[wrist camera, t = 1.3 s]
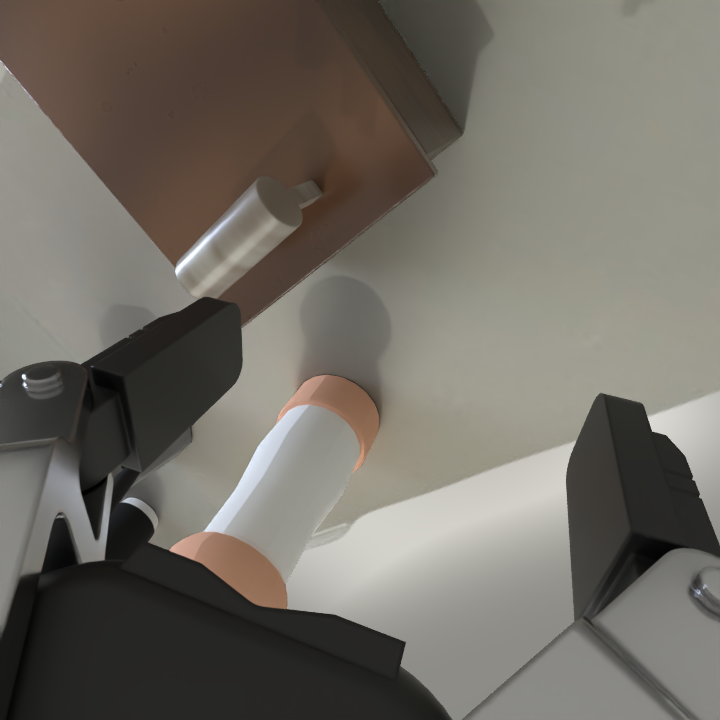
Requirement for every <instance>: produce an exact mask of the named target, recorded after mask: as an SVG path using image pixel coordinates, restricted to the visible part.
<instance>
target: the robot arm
mask: <svg viewBox="0 0 720 720" xmlns="http://www.w3.org/2000/svg"><path fill="white" fill-rule="evenodd" d="M242 362H243V358H242V331H241V312H240V308H239V306H238V305H237V304H236V303H232V302H228V301H224V300H220V299H216V298H212V297H207V296H206V297H202V298H201V299H199V300H197V301H196V302H194V303H192V304H191V305H189V306H188V307H186V308H184V309H183V310H181V311H179V312H176V313H173V314H169V315H166V316H163V317H160V318H158V319H156V320H155V321H153V322H151V323H149V324H148V325H146V326H144V327H143V330H140V329H139V330H138V331H136V332H134V333H133V334H131V335H129V338H124V339H123V340H121V341H119V342H118V343H116V344H114V345H113V346H111V347H109V348H108V349H106V350H104V351H103V352H101V353H99V354H98V355H96V356H94V357H93V358H91V359H89V360H87V361H86V362H84V363H82V364H81V365H79V364H77V363H74V362H69V361H48V362H41V363H36V364H32V365H29V366H26V367H23V368H21V369H18V370H16V371H14V372H13V373H11V374H9V375H8V376H6V377H5V378H4V379H3V380H2V381H0V720H452V718H451V717H450V716H449V714H448V713H447V712H446V710H445V708H444V707H443V706H442V705H441V704H440V702H439V701H438V700H437V699H436V698H435V697H434V695H433V694H432V693H431V692H430V691H429V690H428V689H427V688H426V687H425V686H424V685H423V684H422V683H421V682H420V681H419V680H417V679H416V678H415V677H414V676H413V675H412V674H410V673H409V672H408V671H406V670H405V669H404V668H402V667H401V666H400V664H401V660H402V656H403V652H404V647H405V643H406V642H404V641H401V640H399V639H396V638H393V637H391V636H388V635H386V634H383V633H380V632H378V631H375V630H373V629H370V628H368V627H365V626H362V625H360V624H357V623H355V622H352V621H350V620H347V619H344V618H342V617H339V616H337V615H332V614H323V613H315V612H307V611H298V610H289V609H280V608H272V607H263V606H259V605H256V604H254V603H252V602H251V601H249V600H248V599H247V598H245V597H244V596H243V595H242V594H240V593H239V592H238V591H236V590H235V589H234V588H233V587H231V586H230V585H229V584H227V583H226V582H225V581H224V580H222V579H221V578H220V577H218V576H217V575H216V574H215V573H213V572H212V571H211V570H209V569H208V568H207V567H206V566H204V565H203V564H202V563H200V562H197V561H194V560H192V559H189V558H187V557H184V556H182V555H179V554H176V553H174V552H171V551H169V550H166V549H163V548H161V547H158V546H156V545H153V544H151V543H148V542H145V541H142V543H141V544H140V545H139V546H138V547H137V548H136V549H135V551H134V552H133V553H132V554H131V555H130V556H129V557H128V558H127V560H105V550H106V541H107V533H108V525H109V517H110V508H111V500H112V492H113V477H112V473H111V472H112V471H113V470H114V469H115V468H116V467H118V466H119V465H121V466H124V467H127V468H130V469H133V470H136V471H139V472H141V473H143V472H144V471H145V470H146V469H147V468H148V467H149V466H150V465H151V464H152V463H153V462H154V461H155V460H156V459H157V458H158V457H159V456H160V455H161V454H163V453H164V452H165V451H166V450H167V449H168V448H169V447H170V446H171V445H172V444H173V443H174V442H175V441H176V440H177V439H178V438H179V437H180V436H181V435H182V434H183V433H184V432H185V431H186V430H188V429H189V428H190V427H191V426H192V425H193V424H194V423H195V422H196V421H197V420H198V419H199V418H200V417H201V416H202V415H203V414H204V413H205V412H206V411H207V410H208V409H209V408H210V407H211V406H213V405H214V404H215V403H216V402H217V401H218V400H219V399H220V398H221V397H222V396H223V395H224V394H225V393H226V392H227V391H228V390H229V389H230V388H231V387H232V386H233V385H234V384H235V383H236V381H237V380H238V378H239V375H240V373H241V369H242ZM692 478H693V475H692V473H691V470H690V468H689V465H688V463H687V460H686V457H685V456H684V454H683V453H682V452H681V451H680V450H679V449H678V448H677V447H676V446H675V444H674V443H673V442H672V441H671V440H670V439H669V438H668V437H667V436H666V435H663V434H659V433H655V432H652V430H651V427H650V424H649V421H648V418H647V414H646V411H645V408H644V406H643V404H642V403H640V402H635V401H631V400H627V399H623V398H619V397H615V396H611V395H607V394H603V393H600V394H599V395H598V396H597V397H596V399H595V400H594V402H593V404H592V407H591V409H590V411H589V414H588V416H587V418H586V421H585V423H584V425H583V428H582V430H581V432H580V434H579V437H578V439H577V441H576V444H575V446H574V448H573V451H572V453H571V456H570V459H569V463H568V468H567V475H566V489H567V505H568V520H569V521H568V522H569V537H570V552H571V553H570V554H571V571H572V587H573V603H574V620H575V622H573V623H572V624H571V625H570V626H569V627H567V628H566V629H565V630H564V631H563V632H562V633H561V634H559V635H558V637H556V638H555V639H554V640H553V641H551V642H550V643H549V644H548V645H547V646H546V647H544V648H543V650H541V651H540V652H539V653H538V654H536V655H535V656H534V657H533V658H532V659H531V660H530V661H529V662H527V663H526V664H525V665H524V666H523V667H522V668H520V669H519V670H518V671H517V672H516V673H515V674H514V675H512V676H511V677H510V678H509V679H508V680H507V681H505V682H504V683H503V684H502V685H501V686H500V687H499V688H497V689H496V690H495V691H494V692H493V693H492V694H490V695H489V696H488V697H487V698H486V699H485V700H484V701H483V702H481V703H480V704H479V705H478V706H477V707H476V708H474V709H473V710H472V711H471V712H470V713H469V714H468V715H466V716H465V717H464V718H463V719H462V720H720V545H719V542H718V540H717V537H716V535H715V532H714V529H713V527H712V524H711V522H710V520H709V517H708V514H707V512H706V509H705V506H704V504H703V501H702V499H700V498H699V495H700V493H699V491H698V489H697V486H696V483H695V481H693V480H692Z"/></svg>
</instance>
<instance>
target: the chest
mask: <svg viewBox="0 0 720 720" xmlns="http://www.w3.org/2000/svg"><path fill="white" fill-rule="evenodd" d="M323 1H324V3H325V4H326V6H327V7H328V9H329V10H330V12H331V13H332V15H333V16H334V18H335V19H336V21H337V22H338V24H339V25H340V27H341V28H342V30H343V31H344V33H345V34H346V36H347V37H348V39H349V40H350V42H351V43H352V44H353V46H354V47H355V49H356V50H357V52H358V53H359V55H360V56H361V58H362V59H363V61H364V62H365V64H366V65H367V67H368V68H369V70H370V71H371V73H372V74H373V76H374V77H375V79H376V80H377V82H378V83H379V84H380V86H381V87H382V89H383V90H384V92H385V93H386V95H387V96H388V98H389V99H390V101H391V102H392V104H393V105H394V107H395V108H396V110H397V111H398V113H399V114H400V116H401V117H402V119H403V120H404V122H405V123H406V125H407V126H408V127H409V129H410V130H411V132H412V133H413V135H414V136H415V138H416V139H417V141H418V142H419V144H420V145H421V147H422V148H423V150H424V151H425V153H426V154H427V156H428V157H429V159H430V160H432V159H433V158H434V157H436V156H437V155H438V154H439V153H441V152H442V151H443V150H444V149H446V148H447V147H448V146H449V145H451V144H452V143H453V142H454V141H455V140H457V139H458V138H459V137H460V136H462V135H463V134H464V133H463V131H462V130H461V128H460V127H459V125H458V124H457V122H456V121H455V119H454V118H453V116H452V114H451V113H450V111H449V110H448V108H447V107H446V105H445V104H444V102H443V101H442V99H441V98H440V96H439V94H438V93H437V91H436V90H435V88H434V87H433V85H432V84H431V82H430V81H429V79H428V77H427V76H426V74H425V73H424V71H423V70H422V68H421V67H420V65H419V64H418V62H417V61H416V59H415V57H414V56H413V54H412V53H411V51H410V50H409V48H408V47H407V45H406V44H405V42H404V41H403V39H402V37H401V36H400V34H399V33H398V31H397V30H396V28H395V27H394V25H393V24H392V22H391V21H390V19H389V17H388V16H387V14H386V13H385V11H384V10H383V8H382V7H381V5H380V4H379V2H378V0H323Z"/></svg>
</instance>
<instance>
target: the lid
mask: <svg viewBox="0 0 720 720" xmlns="http://www.w3.org/2000/svg"><path fill="white" fill-rule="evenodd" d="M0 61H1V63H2V64H3V65H4V66H5V67H6V69H7V70H8V71H9V72H10V73H11V74H12V76H13V77H14V78H15V79H16V80H17V81H18V83H19V84H20V85H21V86H22V87H23V89H24V90H25V91H26V92H27V93H28V94H29V96H30V97H31V98H32V99H33V100H34V102H35V103H36V104H37V105H38V106H39V107H40V109H41V110H42V111H43V112H44V113H45V115H46V116H47V117H48V118H49V119H50V120H51V122H52V123H53V124H54V125H55V126H56V127H57V129H58V130H59V131H60V132H61V133H62V135H63V136H64V137H65V138H66V139H67V140H68V142H69V143H70V144H71V145H72V146H73V148H74V149H75V150H76V151H77V152H78V153H79V155H80V156H81V157H82V158H83V159H84V161H85V162H86V163H87V164H88V165H89V166H90V168H91V169H92V170H93V171H94V172H95V173H96V175H97V176H98V177H99V178H100V179H101V181H102V182H103V183H104V184H105V185H106V186H107V188H108V189H109V190H110V191H111V192H112V194H113V195H114V196H115V197H116V198H117V199H118V201H119V202H120V203H121V204H122V205H123V207H124V208H125V209H126V210H127V211H128V212H129V214H130V215H131V216H132V217H133V218H134V219H135V221H136V222H137V223H138V224H139V225H140V227H141V228H142V229H143V230H144V231H145V232H146V234H147V235H148V236H149V237H150V238H151V240H152V241H153V242H154V243H155V244H156V245H157V247H158V248H159V249H160V250H161V251H162V252H163V254H164V255H165V256H166V257H167V258H168V260H169V261H170V262H171V263H172V264H173V265H174V267H175V271H176V276H177V279H178V281H179V282H180V284H181V285H182V287H183V288H184V289H185V290H186V291H187V292H188V293H189V294H191V295H192V296H194V297H195V298H197V299H201V298H202V297H206V296H207V297H212V298H216V299H220V300H224V301H228V302H232V303H236V304H237V305H238V306H239V308H240V312H241V328H243V327H244V326H245V325H246V324H248V323H249V322H250V321H252V320H253V319H254V318H255V317H257V316H258V315H259V314H260V313H262V312H263V311H264V310H266V309H267V308H268V307H269V306H271V305H272V304H273V303H275V302H276V301H277V300H278V299H280V298H281V297H282V296H283V295H285V294H286V293H287V292H289V291H290V290H291V289H292V288H294V287H295V286H296V285H297V284H299V283H300V282H301V281H303V280H304V279H305V278H306V277H308V276H309V275H310V274H311V273H313V272H314V271H315V270H317V269H318V268H319V267H320V266H322V265H323V264H324V263H325V262H327V261H328V260H329V259H331V258H332V257H333V256H334V255H336V254H337V253H338V252H339V251H341V250H342V249H343V248H345V247H346V246H347V245H348V244H350V243H351V242H352V241H353V240H355V239H356V238H357V237H359V236H360V235H361V234H362V233H364V232H365V231H366V230H367V229H369V228H370V227H371V226H373V225H374V224H375V223H376V222H378V221H379V220H380V219H381V218H383V217H384V216H385V215H387V214H388V213H389V212H390V211H392V210H393V209H394V208H396V207H397V206H398V205H399V204H401V203H402V202H403V201H404V200H406V199H407V198H408V197H410V196H411V195H412V194H413V193H415V192H416V191H417V190H418V189H420V188H421V187H422V186H424V185H425V184H426V183H427V182H429V181H430V180H431V179H432V178H434V177H435V176H436V175H437V174H438V170H437V169H436V167H435V166H434V165H433V163H432V162H431V160H430V159H429V157H428V156H427V154H426V153H425V151H424V150H423V148H422V147H421V145H420V144H419V142H418V141H417V139H416V138H415V136H414V135H413V133H412V132H411V130H410V129H409V127H408V126H407V125H406V123H405V122H404V120H403V119H402V117H401V116H400V114H399V113H398V111H397V110H396V108H395V107H394V105H393V104H392V102H391V101H390V99H389V98H388V96H387V95H386V93H385V92H384V90H383V89H382V87H381V86H380V84H379V83H378V82H377V80H376V79H375V77H374V76H373V74H372V73H371V71H370V70H369V68H368V67H367V65H366V64H365V62H364V61H363V59H362V58H361V56H360V55H359V53H358V52H357V50H356V49H355V47H354V46H353V44H352V43H351V42H350V40H349V39H348V37H347V36H346V34H345V33H344V31H343V30H342V28H341V27H340V25H339V24H338V22H337V21H336V19H335V18H334V16H333V15H332V13H331V12H330V10H329V9H328V7H327V6H326V4H325V3H324V1H323V0H0Z"/></svg>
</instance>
